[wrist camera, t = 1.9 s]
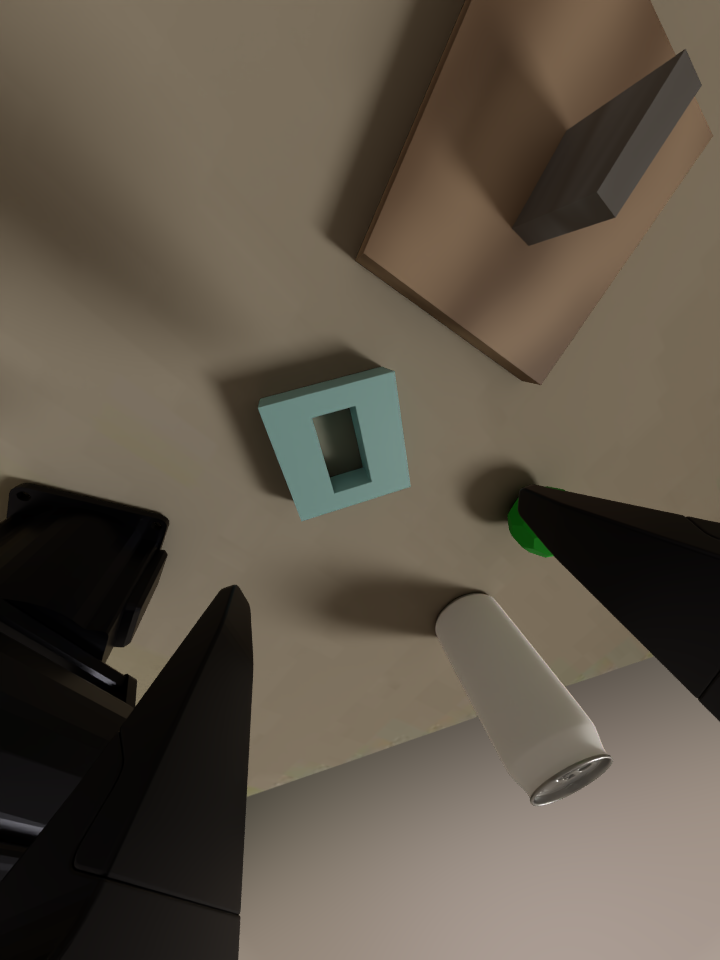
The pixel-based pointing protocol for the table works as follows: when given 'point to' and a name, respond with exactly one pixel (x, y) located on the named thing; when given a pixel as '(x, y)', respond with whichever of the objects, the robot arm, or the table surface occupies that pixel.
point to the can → (520, 701)
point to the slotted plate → (375, 436)
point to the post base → (535, 170)
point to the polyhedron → (526, 533)
